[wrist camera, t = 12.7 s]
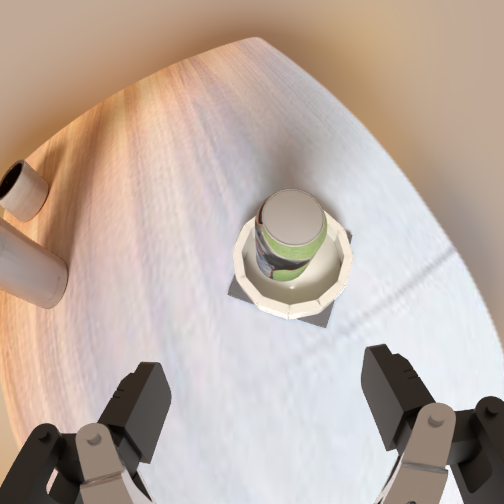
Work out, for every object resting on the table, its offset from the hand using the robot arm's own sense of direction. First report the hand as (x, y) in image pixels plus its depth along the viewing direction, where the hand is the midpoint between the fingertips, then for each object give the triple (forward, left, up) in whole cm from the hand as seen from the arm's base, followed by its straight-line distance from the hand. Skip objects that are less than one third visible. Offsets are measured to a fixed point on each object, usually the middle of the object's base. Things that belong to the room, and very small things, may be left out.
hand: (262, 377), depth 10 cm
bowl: (-3, +12, -20) cm, 24 cm away
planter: (-60, +8, -21) cm, 64 cm away
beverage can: (-3, +12, -20) cm, 23 cm away
